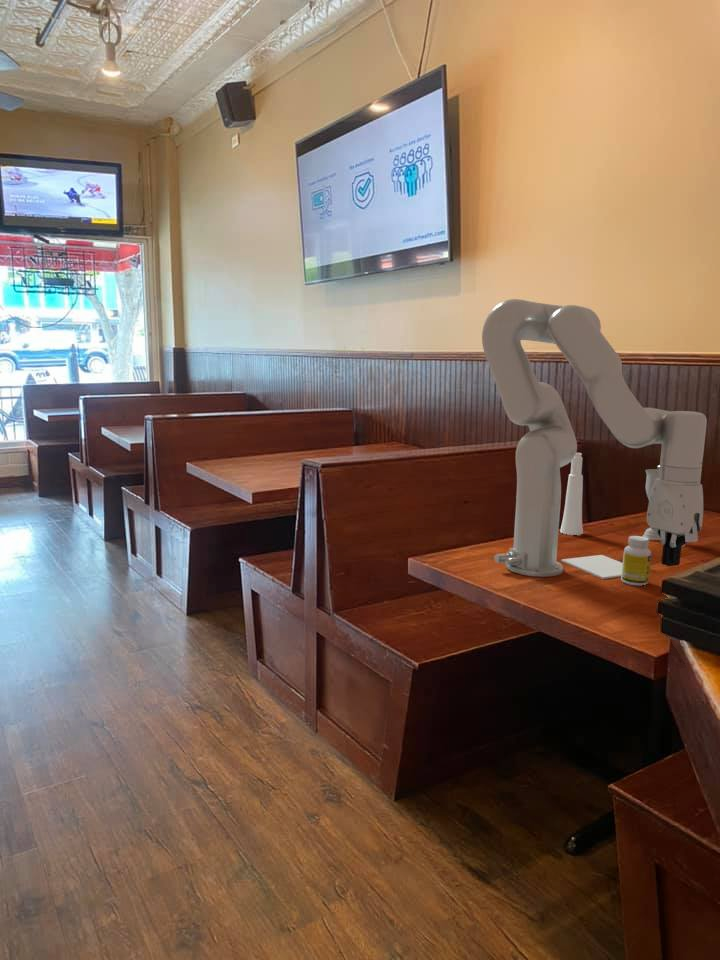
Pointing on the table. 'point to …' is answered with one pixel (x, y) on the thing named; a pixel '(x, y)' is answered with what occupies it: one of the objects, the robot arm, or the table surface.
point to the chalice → (650, 479)
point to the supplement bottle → (636, 561)
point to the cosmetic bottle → (574, 499)
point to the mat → (597, 566)
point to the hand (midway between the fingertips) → (670, 564)
